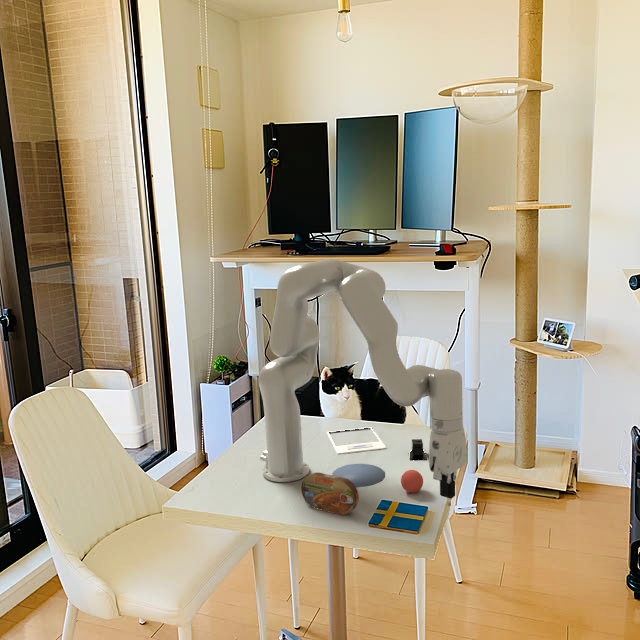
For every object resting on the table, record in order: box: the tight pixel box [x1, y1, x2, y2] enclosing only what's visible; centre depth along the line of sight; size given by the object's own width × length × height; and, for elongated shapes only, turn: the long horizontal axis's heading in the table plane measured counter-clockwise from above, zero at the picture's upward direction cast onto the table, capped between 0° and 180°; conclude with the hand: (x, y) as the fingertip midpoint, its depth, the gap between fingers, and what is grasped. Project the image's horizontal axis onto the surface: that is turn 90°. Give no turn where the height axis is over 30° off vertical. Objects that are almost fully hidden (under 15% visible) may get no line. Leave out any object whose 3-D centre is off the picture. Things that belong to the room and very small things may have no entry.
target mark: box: [331, 463, 385, 488], centre depth 173 cm, size 14×14×1 cm
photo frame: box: [325, 426, 387, 455], centre depth 197 cm, size 15×1×18 cm
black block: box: [409, 438, 429, 462], centre depth 184 cm, size 12×7×5 cm, turn 176°
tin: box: [300, 472, 360, 516], centre depth 154 cm, size 15×3×8 cm, turn 56°
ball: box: [400, 469, 424, 494], centre depth 161 cm, size 6×6×6 cm
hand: (447, 495), depth 155 cm, fingers closed
